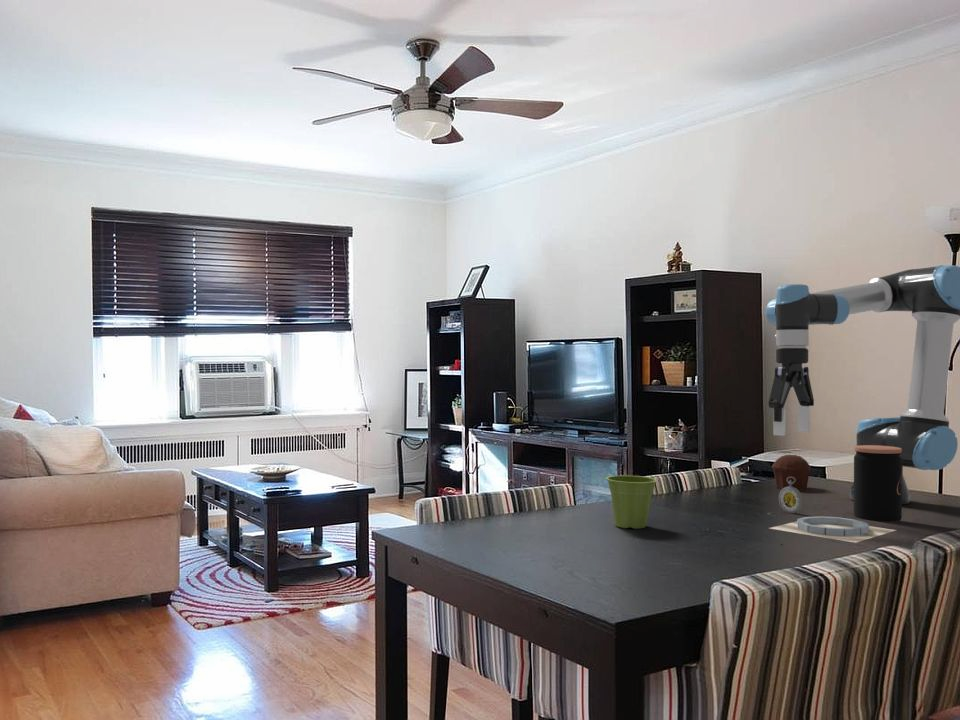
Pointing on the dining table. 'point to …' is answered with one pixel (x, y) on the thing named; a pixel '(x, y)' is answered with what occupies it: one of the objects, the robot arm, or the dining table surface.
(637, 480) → the plant pot
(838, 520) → the slate ring
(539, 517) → the dining table surface
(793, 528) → the ash board
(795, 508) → the pocket watch
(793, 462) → the muffin
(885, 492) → the coffee jar
